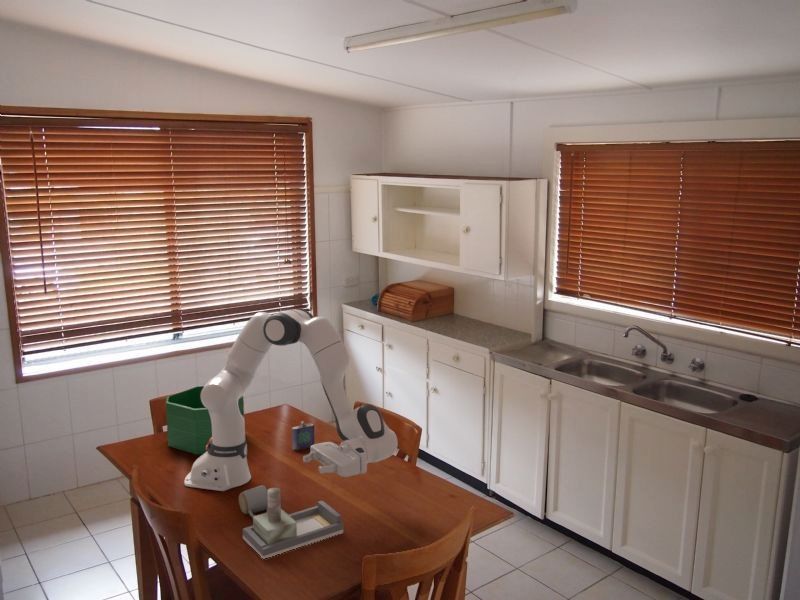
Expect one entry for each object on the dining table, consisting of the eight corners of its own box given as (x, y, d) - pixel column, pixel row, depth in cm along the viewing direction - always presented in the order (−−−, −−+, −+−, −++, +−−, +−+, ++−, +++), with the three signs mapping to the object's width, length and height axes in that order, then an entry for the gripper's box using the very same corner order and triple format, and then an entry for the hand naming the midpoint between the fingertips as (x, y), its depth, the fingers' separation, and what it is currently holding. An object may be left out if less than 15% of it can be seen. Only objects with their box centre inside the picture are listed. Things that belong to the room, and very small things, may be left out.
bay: (263, 560, 195) (262, 543, 194) (242, 538, 206) (242, 522, 205) (343, 532, 210) (343, 517, 209) (320, 514, 221) (320, 498, 220)
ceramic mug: (237, 509, 223) (236, 487, 222) (261, 502, 228) (261, 481, 226) (250, 523, 215) (250, 500, 213) (275, 516, 219) (274, 494, 218)
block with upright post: (268, 549, 197) (266, 501, 195) (253, 534, 205) (252, 488, 203) (296, 539, 203) (295, 493, 200) (281, 525, 211) (280, 480, 208)
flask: (293, 451, 269) (293, 424, 268) (290, 448, 272) (290, 422, 270) (315, 446, 274) (315, 420, 272) (312, 444, 277) (312, 418, 275)
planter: (207, 423, 298) (205, 382, 294) (253, 435, 285) (252, 393, 281) (158, 443, 276) (156, 399, 272) (206, 458, 263) (204, 411, 259)
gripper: (333, 434, 223) (294, 444, 215) (368, 454, 207) (328, 466, 199) (334, 452, 224) (295, 463, 216) (369, 474, 208) (328, 487, 200)
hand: (311, 464), depth 207 cm, fingers open, 8 cm apart
